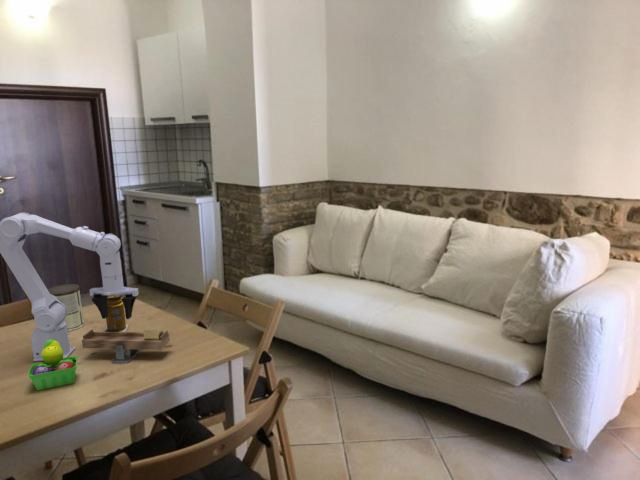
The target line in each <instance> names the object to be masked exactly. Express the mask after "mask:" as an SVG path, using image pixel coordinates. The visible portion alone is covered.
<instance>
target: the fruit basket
mask: <svg viewBox="0 0 640 480" xmlns="http://www.w3.org/2000/svg"><path fill="white" fill-rule="evenodd" d="M41 356H42V358H43V361H42V362H41V361H40V362H37V363H34V364H31V366H30V369H29V372H28V375H27V376H28V377H29V379H31V382H32V383H33V385H34V387H35V389H36V390H37V391H40V390H41V391H42V390H45V389H51V388H55V387H60V386H65V385H70V384H74V383H75V379H76V370H77V365H78V356H75V355H74V356H68V357H67V358H63V350H62V348H61V347H60V343H59V342H57V341H55V340H54V339H51V340H47V341H46V342H45V345H44V349H43V351H42V353H41Z"/></svg>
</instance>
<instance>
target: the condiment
mask: <svg viewBox="0 0 640 480" xmlns="http://www.w3.org/2000/svg"><path fill="white" fill-rule="evenodd" d="M122 298H123V297H122V295H108V296H107V309H108V317H106V318H105V323H106V327H105V329H104V330H103V332H127V330H128V327H129V325H130V323H126V322H127V321H126V315H125V308H124V304H123V302H122Z"/></svg>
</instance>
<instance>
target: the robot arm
mask: <svg viewBox="0 0 640 480" xmlns="http://www.w3.org/2000/svg"><path fill="white" fill-rule="evenodd" d="M38 233H41V234H46V235H50V236H54V237H57V238H63V239H65V240H69V241H70V242H71V245H72V246H75V247H78V248H82V249H84V250H89V251H92V252H96V254H98V256H99V265H100V271H101V280H102V287H92V288H90V289H89V296H90V297H92V298H91V302H92V303H93V304H94V305H95V306H96V308H97V309H98V311H99V313H100V315H101V318H102V320H103V319H104V320H106V317H108V309H107V296H108V295H121V296H124V297H121V298H122V302H123V305H124V314H125V320H130V319H131V318H132V316H133V310H134V309H133V308H134V305H135V302H136V299H137V297H138V295H139V288H136V287H129V286H124V279H123V278H124V276H123V268H122V260H121V253H120V248H121V246H122V243H121V239H120V238H119V237H118V236H117V235H115V234H114V233H105V232H104V231H101V232H99V231H95V230H92V229H89V226H86V225H83V226H78V227H75V228H71V227H70V226H66V225H63V224H60V223H57V222H55V221H52V220H49V219H47V218H44V217H41V216H40V215H39V216H38V215H37V214H30V213H28V212H19V213H16V214H14V215H11V216H7V217H5V218H2V219H1V220H0V254H1V257H2V259H4V262H6V265H7V266H8V268H9V269H10V271H11V272H12V274H13V275H14V277H15V279H16V280H17V282H18V283H19V286H21V289H22V290H23V292H24V293H25V294H26V296H27V298H28V299H29V301H30V303H31V314H32V316H33V318H34V325H35V327H36V328H34V329H33V330H32V332H31V335H30V336H31V337H30V342H31V348H32V354H33V355H32V357H33V359H32V361H33V362H39V361H40V362H41V361H42V362H44V361H43V358H42V356H41V353H42V351H43V349H44V345H45V342H46V341H47V340H51V339H54V340H55V341H57V342H59V343H60V347H61V348H62V350H63V358H67V357H70V355H71V354H72V353H73V352H74V350H75V349H76V346H71V345H70V342H69V341H70V340H69V333H68V332H69V331H67V325H66V322H65V319H64V318H65V317H66V316H67V308H66V306H65V305H64V304H63V303H61V302H60V301H59V300H58V299H57V297H56V296H54V295H51V294H50V293H49V291H48V288H47V287H46V285H45V283H44V282H43V280H42V279H41V276H40V275H39V274H38V272H37V269H36V268H35V267H34V265H33V264H32V262H31V260H30V258H29V257H28V256H27V254H26V253H25V251H24V248H23V246H24V244H25V241H26V239H27V238H28V236H29V235H34V234H38Z"/></svg>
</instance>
